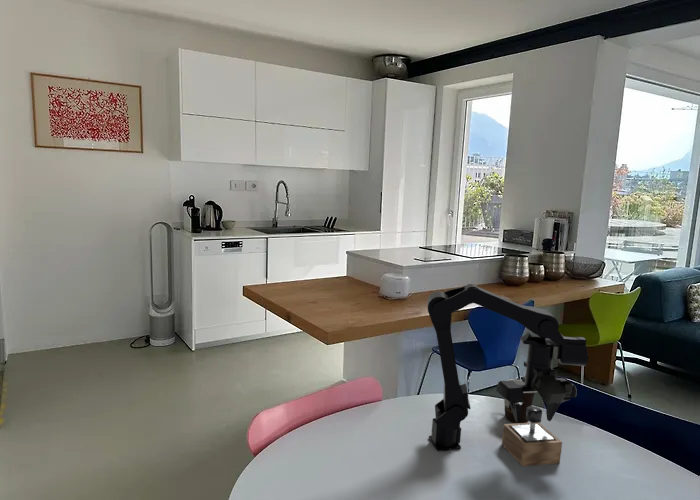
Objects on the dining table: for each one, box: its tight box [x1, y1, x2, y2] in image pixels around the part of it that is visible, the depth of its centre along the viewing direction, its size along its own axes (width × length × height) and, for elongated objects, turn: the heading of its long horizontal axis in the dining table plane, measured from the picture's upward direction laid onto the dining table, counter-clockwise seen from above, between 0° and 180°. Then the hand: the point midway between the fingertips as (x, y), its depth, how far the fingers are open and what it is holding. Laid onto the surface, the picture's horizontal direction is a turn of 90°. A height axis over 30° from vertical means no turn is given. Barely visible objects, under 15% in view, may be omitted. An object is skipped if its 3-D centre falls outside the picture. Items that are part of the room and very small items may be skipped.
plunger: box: [511, 405, 554, 443], centre depth 124 cm, size 7×7×7 cm
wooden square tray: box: [501, 422, 563, 467], centre depth 125 cm, size 10×10×6 cm
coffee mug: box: [503, 378, 536, 424], centre depth 144 cm, size 12×9×10 cm
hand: (533, 421), depth 124 cm, fingers open, 8 cm apart
